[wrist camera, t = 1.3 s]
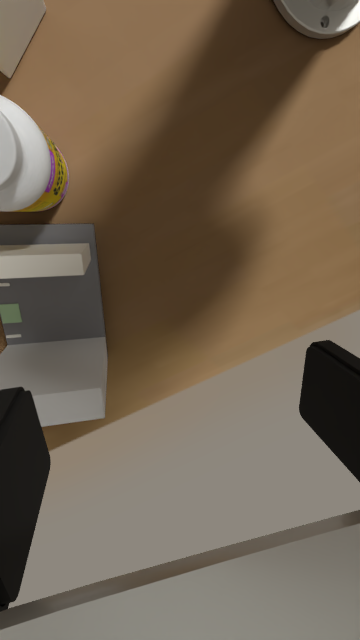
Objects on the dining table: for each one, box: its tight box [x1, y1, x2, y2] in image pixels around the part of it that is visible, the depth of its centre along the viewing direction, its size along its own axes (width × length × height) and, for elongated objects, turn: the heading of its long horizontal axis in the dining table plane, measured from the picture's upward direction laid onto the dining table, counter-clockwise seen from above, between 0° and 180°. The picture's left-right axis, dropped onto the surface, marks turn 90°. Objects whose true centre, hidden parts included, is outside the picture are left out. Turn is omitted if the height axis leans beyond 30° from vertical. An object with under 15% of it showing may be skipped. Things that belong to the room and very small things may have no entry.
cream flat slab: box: [0, 243, 91, 279], centre depth 24 cm, size 2×10×7 cm, turn 91°
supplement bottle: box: [0, 95, 69, 212], centre depth 20 cm, size 7×7×13 cm
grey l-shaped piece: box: [0, 223, 108, 427], centre depth 26 cm, size 15×10×11 cm, turn 0°
